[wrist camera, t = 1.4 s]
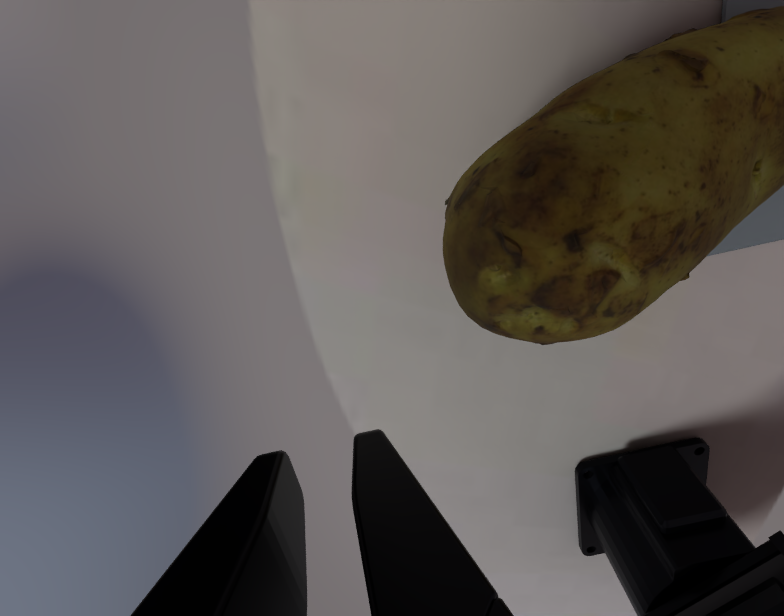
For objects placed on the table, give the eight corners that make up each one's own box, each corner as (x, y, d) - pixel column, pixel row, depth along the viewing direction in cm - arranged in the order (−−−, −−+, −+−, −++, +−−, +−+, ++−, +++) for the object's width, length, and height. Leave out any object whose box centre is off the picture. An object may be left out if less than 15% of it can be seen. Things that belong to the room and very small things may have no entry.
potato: (753, 234, 21) (954, 335, 14) (433, 285, 21) (470, 409, 14) (795, -5, 17) (1102, -36, 10) (405, 60, 17) (437, 74, 10)
